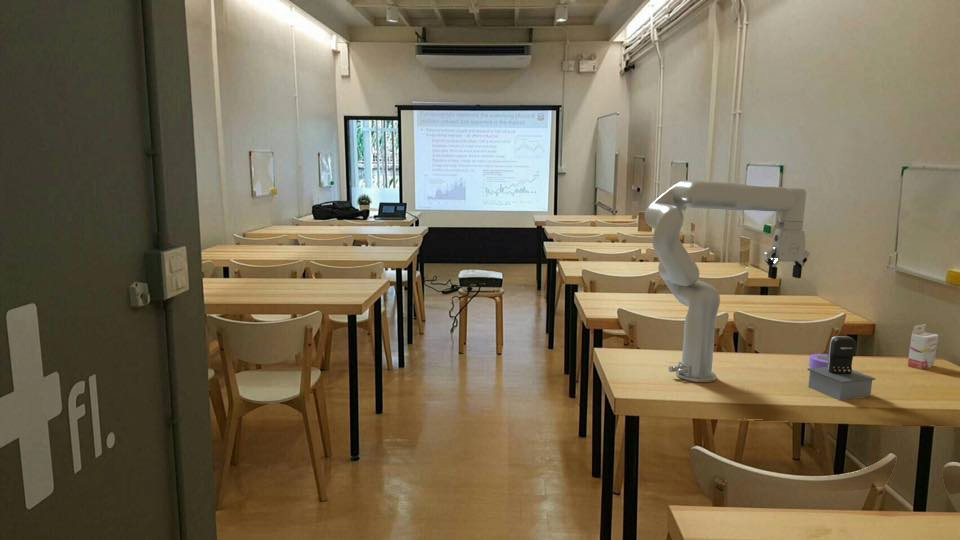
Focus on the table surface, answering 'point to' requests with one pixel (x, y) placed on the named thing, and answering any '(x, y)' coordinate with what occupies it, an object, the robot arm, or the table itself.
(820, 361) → the masking tape
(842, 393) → the stand
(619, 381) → the table surface
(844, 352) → the battery charger
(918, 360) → the ink cartridge box
